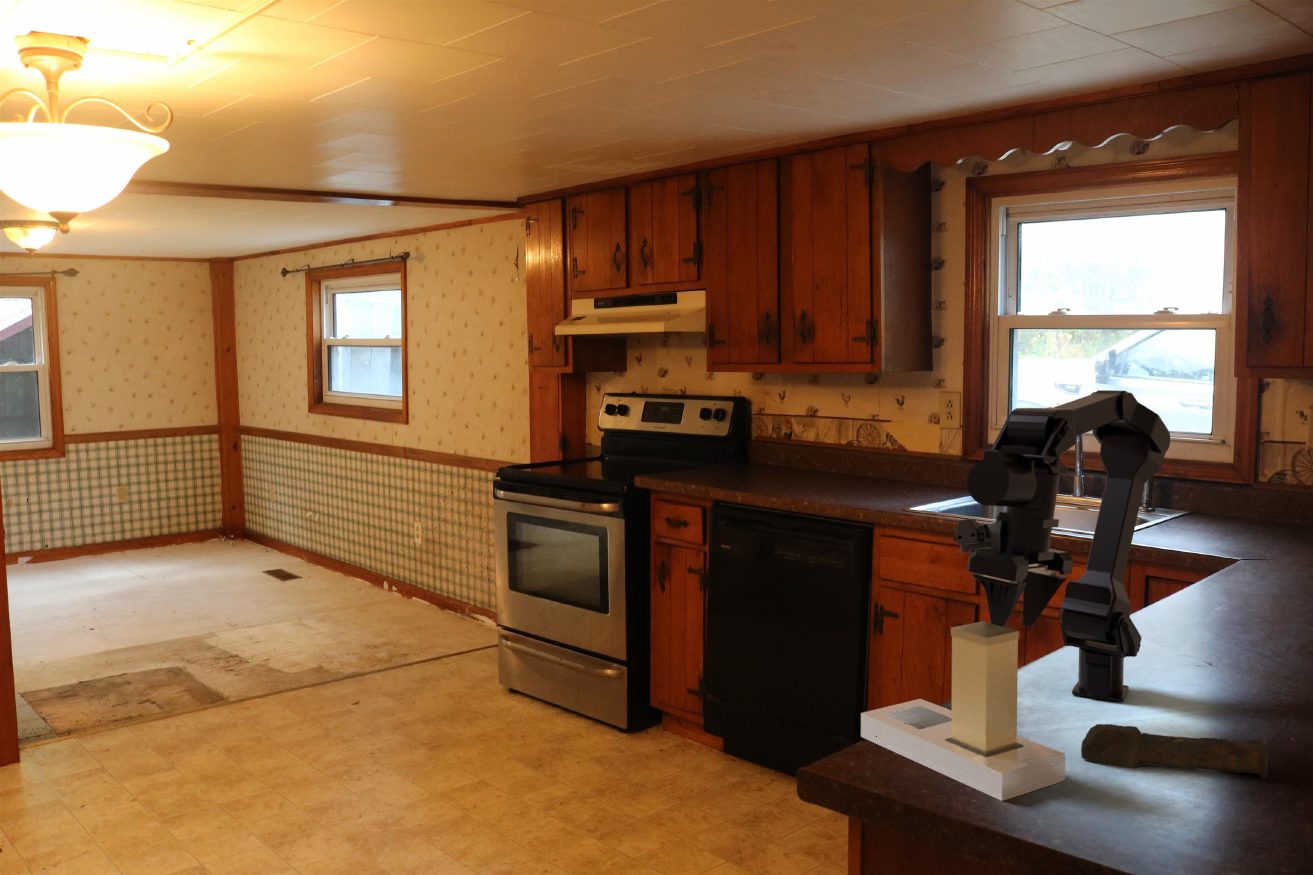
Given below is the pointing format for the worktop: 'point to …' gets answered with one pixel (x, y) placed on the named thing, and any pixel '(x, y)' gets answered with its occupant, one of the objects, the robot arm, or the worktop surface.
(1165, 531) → the worktop surface
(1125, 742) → the hand tool
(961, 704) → the beige tall square block
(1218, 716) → the worktop surface
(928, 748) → the white base plate
